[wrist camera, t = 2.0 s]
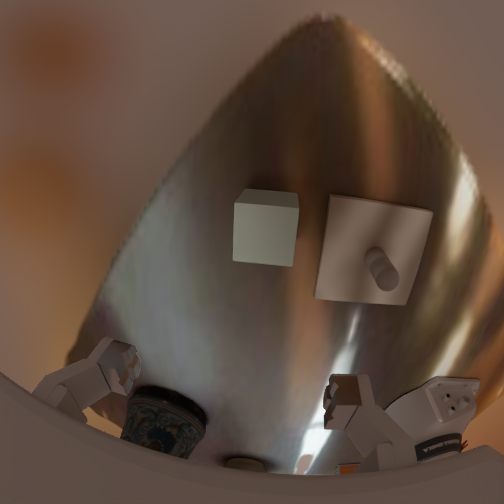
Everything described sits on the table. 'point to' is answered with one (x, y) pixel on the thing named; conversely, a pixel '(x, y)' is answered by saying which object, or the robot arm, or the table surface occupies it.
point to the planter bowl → (245, 465)
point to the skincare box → (346, 468)
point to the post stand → (370, 250)
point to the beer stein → (164, 422)
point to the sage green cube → (265, 227)
